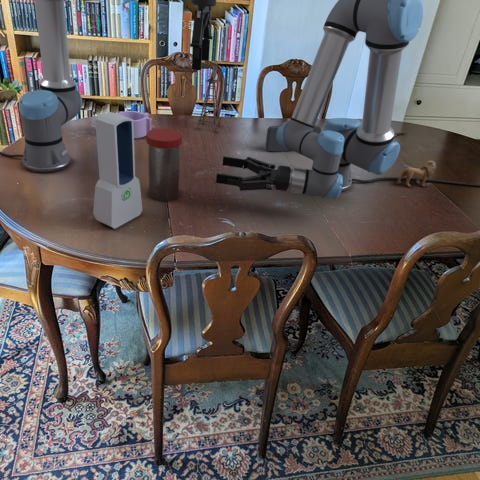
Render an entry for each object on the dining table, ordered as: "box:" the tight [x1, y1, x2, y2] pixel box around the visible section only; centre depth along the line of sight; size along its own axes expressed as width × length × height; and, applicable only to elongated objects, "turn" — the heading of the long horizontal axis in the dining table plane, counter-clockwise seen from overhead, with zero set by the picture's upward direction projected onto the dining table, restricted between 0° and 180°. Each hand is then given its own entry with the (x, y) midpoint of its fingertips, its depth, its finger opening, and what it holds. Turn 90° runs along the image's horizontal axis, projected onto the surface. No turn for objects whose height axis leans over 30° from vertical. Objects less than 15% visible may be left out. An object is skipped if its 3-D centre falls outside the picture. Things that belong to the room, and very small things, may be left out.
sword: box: [394, 132, 408, 137], centre depth 213 cm, size 31×3×1 cm, turn 126°
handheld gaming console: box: [264, 124, 322, 152], centre depth 189 cm, size 23×3×10 cm, turn 108°
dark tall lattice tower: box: [196, 56, 221, 133], centre depth 196 cm, size 9×8×30 cm
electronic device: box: [92, 111, 143, 230], centre depth 126 cm, size 12×8×30 cm, turn 148°
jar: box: [148, 144, 181, 202], centre depth 144 cm, size 9×9×20 cm
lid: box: [145, 127, 183, 149], centre depth 139 cm, size 10×10×2 cm
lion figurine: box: [396, 159, 436, 188], centre depth 171 cm, size 15×5×9 cm, turn 110°
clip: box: [98, 110, 153, 139], centre depth 188 cm, size 20×12×7 cm, turn 109°
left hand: (200, 65), depth 149 cm, fingers open, 13 cm apart
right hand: (219, 169), depth 141 cm, fingers open, 13 cm apart
